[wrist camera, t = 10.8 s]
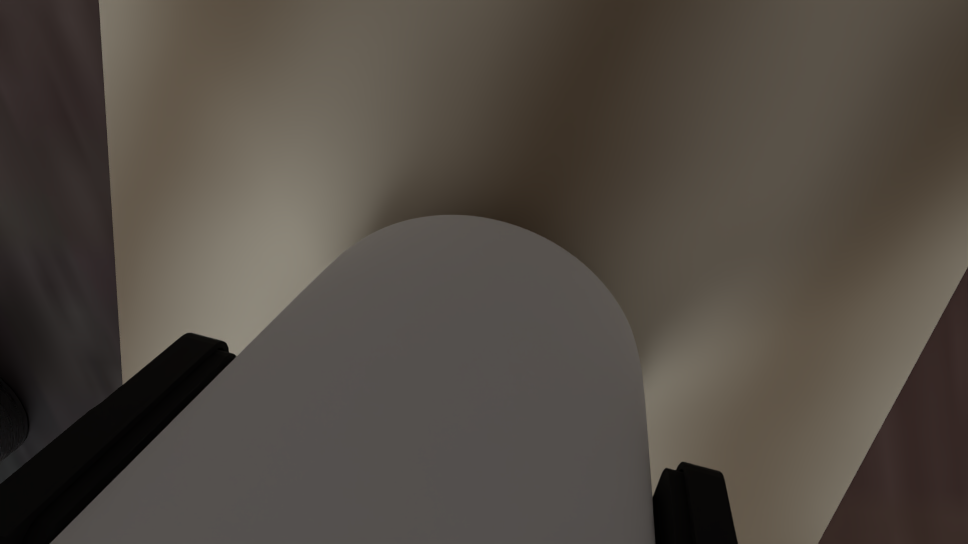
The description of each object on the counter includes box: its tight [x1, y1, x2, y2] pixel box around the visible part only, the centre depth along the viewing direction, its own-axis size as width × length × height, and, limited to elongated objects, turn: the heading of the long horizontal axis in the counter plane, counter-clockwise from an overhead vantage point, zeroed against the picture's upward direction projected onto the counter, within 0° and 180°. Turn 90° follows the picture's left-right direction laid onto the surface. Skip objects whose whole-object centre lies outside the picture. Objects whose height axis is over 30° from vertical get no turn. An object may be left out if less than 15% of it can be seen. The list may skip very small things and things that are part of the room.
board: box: [99, 0, 968, 544], centre depth 14 cm, size 16×16×1 cm
